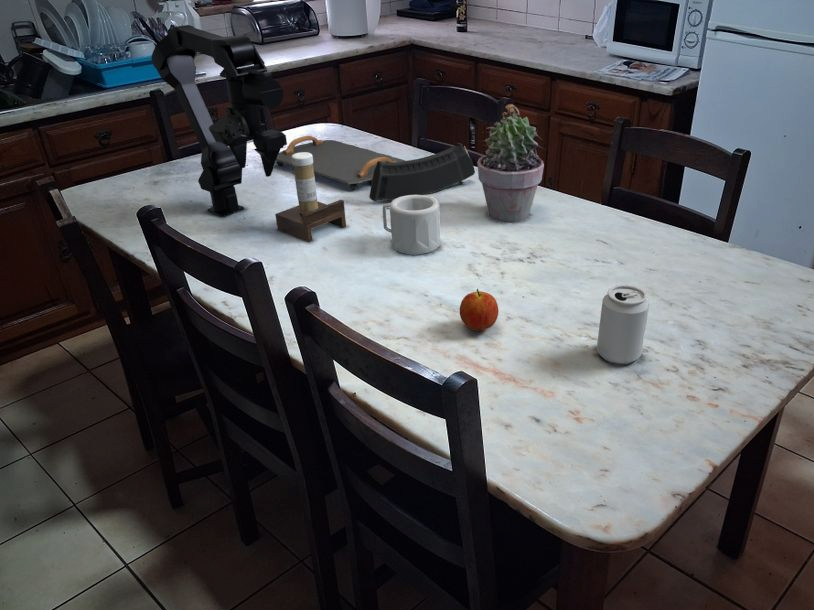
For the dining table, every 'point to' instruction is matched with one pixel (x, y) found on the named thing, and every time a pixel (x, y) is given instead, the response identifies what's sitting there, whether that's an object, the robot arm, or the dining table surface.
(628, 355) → the can
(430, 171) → the magazine
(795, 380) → the dining table surface
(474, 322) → the fruit
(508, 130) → the potted plant
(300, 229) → the shelf
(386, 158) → the serving tray
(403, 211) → the mug
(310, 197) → the sprinkles bottle
